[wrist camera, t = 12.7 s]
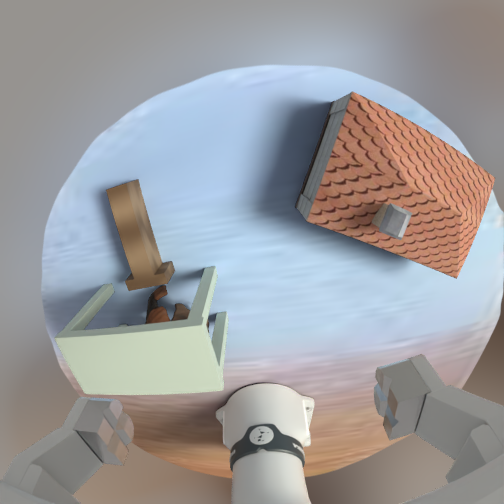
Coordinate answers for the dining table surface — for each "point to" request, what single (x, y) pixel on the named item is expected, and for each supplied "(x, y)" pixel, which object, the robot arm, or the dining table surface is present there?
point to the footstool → (148, 350)
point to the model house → (394, 186)
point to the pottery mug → (160, 313)
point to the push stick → (138, 237)
